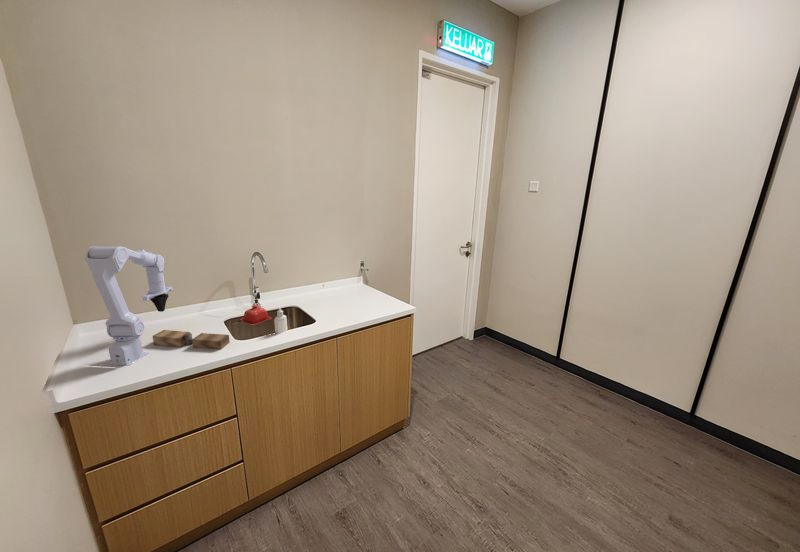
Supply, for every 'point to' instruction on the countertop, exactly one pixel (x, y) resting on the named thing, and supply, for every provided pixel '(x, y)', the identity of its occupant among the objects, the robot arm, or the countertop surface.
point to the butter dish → (255, 315)
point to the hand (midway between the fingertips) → (161, 311)
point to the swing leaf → (172, 338)
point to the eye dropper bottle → (280, 322)
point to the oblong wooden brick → (210, 341)
